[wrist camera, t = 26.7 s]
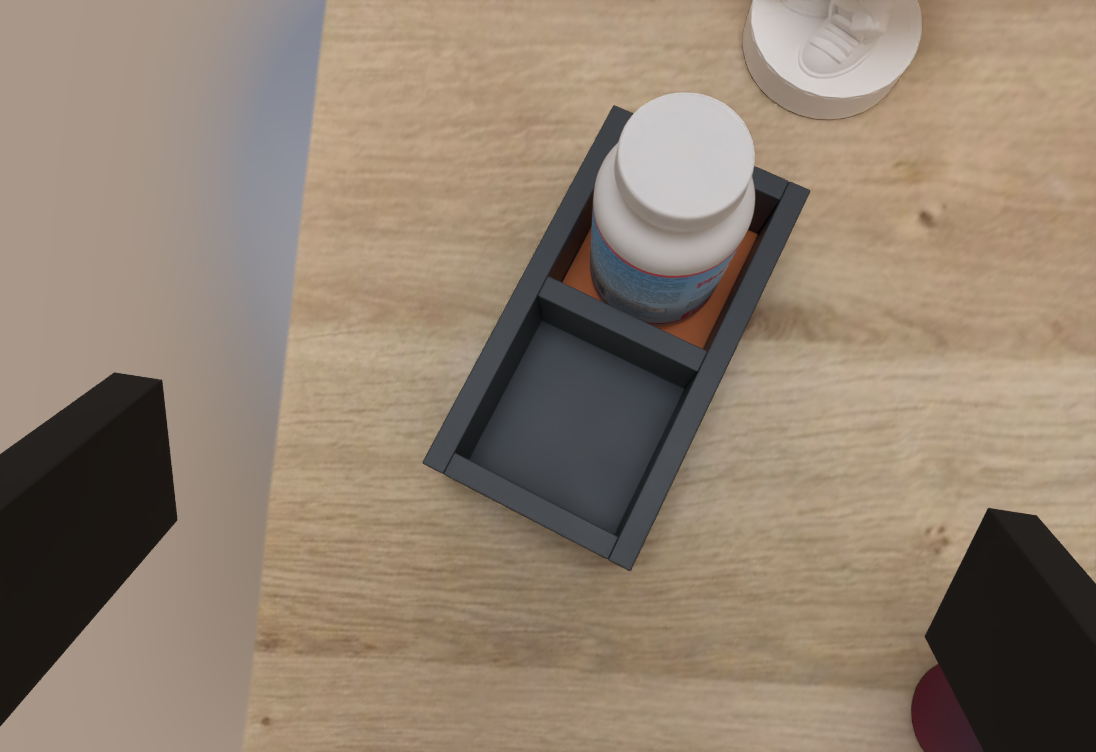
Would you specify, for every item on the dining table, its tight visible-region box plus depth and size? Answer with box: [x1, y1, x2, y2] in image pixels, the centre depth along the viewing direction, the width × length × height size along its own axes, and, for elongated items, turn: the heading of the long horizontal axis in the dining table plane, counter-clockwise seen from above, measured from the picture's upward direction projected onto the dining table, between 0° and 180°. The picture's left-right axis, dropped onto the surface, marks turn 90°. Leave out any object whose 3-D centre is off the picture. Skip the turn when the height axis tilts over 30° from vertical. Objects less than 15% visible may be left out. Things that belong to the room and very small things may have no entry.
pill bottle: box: [590, 92, 755, 326], centre depth 30 cm, size 6×6×11 cm
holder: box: [423, 105, 810, 571], centre depth 34 cm, size 10×18×5 cm, turn 153°
